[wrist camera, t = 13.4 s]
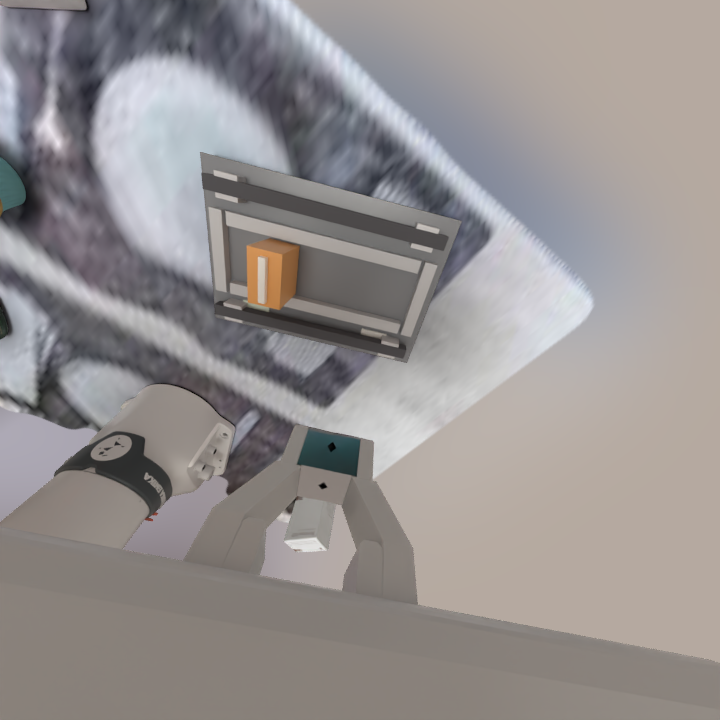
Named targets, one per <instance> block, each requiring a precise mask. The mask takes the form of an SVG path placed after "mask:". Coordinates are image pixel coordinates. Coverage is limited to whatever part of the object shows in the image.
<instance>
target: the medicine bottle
mask: <svg viewBox="0 0 720 720" xmlns="http://www.w3.org/2000/svg"><path fill="white" fill-rule="evenodd" d="M0 5H2V6H5V7H20V8H42V9H65V10H86V8H87V6H86V2H85V0H0Z"/></svg>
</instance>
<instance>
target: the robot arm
mask: <svg viewBox="0 0 720 720" xmlns="http://www.w3.org/2000/svg"><path fill="white" fill-rule="evenodd" d="M234 433H235V427H234V426H233V425H232V424H231V423H230V422H228V421H227V420H225V419H224V418H222V417H221V416H220V415H218V413H217V412H216V411H215V410H214V409H213V408H212V407H211V406H210V405H209V404H208V403H207V402H206V401H204V400H203V399H202V398H200V397H199V396H197V395H195V394H193V393H192V392H190V391H187V390H185V389H182V388H180V387H176V386H172V385H166V384H154V385H150V386H147V387H145V388H143V389H142V390H141V391H140V392H139V393H138V395H137V396H136V397H135V398H132V399H129V400H127V401H125V402H124V403H123V404H122V405H121V411H120V412H119V413H118V414H117V415H116V416H115V417H114V418H113V419H112V420H111V421H110V422H109V423H108V424H106V425H105V426H104V427H103V428H102V429H101V430H100V431H99V432H98V433H97V434H96V435H95V436H94V437H93V438H92V439H91V440H90V442H89V445H87V446H85V447H84V448H82V449H81V450H80V451H79V452H77V453H76V454H75V455H74V456H73V457H72V456H71V457H70V458H69V459H68V460H66V461H65V463H64V464H63V465H62V466H61V467H60V468H59V469H58V470H57V471H56V472H55V474H54V478H53V479H51V480H50V481H49V482H48V483H47V484H46V485H44V486H43V487H42V488H41V489H39V490H38V491H37V492H36V493H35V494H33V495H32V496H31V497H30V498H29V499H27V500H26V501H25V502H24V503H23V504H21V505H20V506H19V507H18V508H16V509H15V510H14V511H13V512H12V513H11V514H9V515H8V516H7V517H6V518H4V519H3V520H2V521H1V522H0V720H720V663H718V662H715V661H712V660H708V659H703V658H697V657H693V656H687V655H682V654H676V653H671V652H666V651H660V650H655V649H650V648H645V647H639V646H634V645H629V644H623V643H618V642H613V641H607V640H602V639H596V638H591V637H586V636H581V635H575V634H570V633H564V632H559V631H554V630H549V629H543V628H538V627H533V626H528V625H522V624H517V623H511V622H506V621H501V620H496V619H490V618H484V617H480V616H474V615H469V614H464V613H458V612H453V611H448V610H442V609H437V608H432V607H426V606H421V605H418V602H417V590H416V579H415V566H414V554H413V547H412V545H411V544H410V542H409V540H408V538H407V536H406V534H405V533H404V531H403V529H402V527H401V526H400V524H399V522H398V520H397V518H396V516H395V515H394V513H393V511H392V509H391V507H390V505H389V504H388V502H387V500H386V498H385V496H384V495H383V493H382V491H381V489H380V487H379V485H378V484H377V482H376V481H372V477H373V452H374V442H373V441H372V440H367V439H363V438H359V437H354V436H349V435H344V434H339V433H333V432H329V431H325V430H321V429H316V428H312V427H308V426H303V425H299V424H296V425H295V427H294V429H293V431H292V434H291V436H290V439H289V441H288V444H287V446H286V449H285V451H284V454H283V456H282V459H281V461H275V462H274V463H272V464H271V465H270V466H268V467H267V468H266V469H264V470H263V471H262V472H260V473H259V474H257V475H256V476H255V477H253V478H252V479H251V480H249V481H248V482H247V483H245V484H244V485H243V486H241V487H240V488H239V489H237V490H236V491H235V492H233V493H232V494H231V495H229V496H228V497H227V498H225V499H224V500H223V501H221V502H220V503H219V504H217V505H216V506H215V507H213V508H212V510H211V512H210V514H209V515H208V517H207V519H206V521H205V523H204V525H203V526H202V528H201V530H200V531H199V533H198V535H197V537H196V538H195V540H194V542H193V544H192V546H191V547H190V549H189V551H188V553H187V555H186V556H185V558H184V560H183V561H182V560H176V559H171V558H166V557H160V556H155V555H150V554H144V553H139V552H134V551H128V550H123V548H124V547H125V545H126V544H127V543H128V541H129V540H130V538H131V537H132V536H133V534H134V533H135V532H136V530H137V529H138V528H139V526H140V525H141V524H142V522H143V521H144V520H148V521H153V519H151V518H148V517H150V516H151V515H157V514H158V513H156V511H157V510H158V509H160V508H161V507H162V506H163V505H164V503H165V502H166V501H167V500H168V499H169V498H170V497H172V496H176V495H181V494H185V493H190V492H193V491H195V490H197V489H198V488H199V487H200V486H201V484H202V483H203V481H204V480H207V481H209V480H210V478H211V477H212V476H217V475H222V474H223V473H224V472H225V470H226V467H227V463H228V458H229V454H230V450H231V446H232V442H233V438H234ZM296 496H299V497H305V498H310V499H316V500H321V501H325V502H330V503H334V504H338V505H342V508H343V511H344V514H345V517H346V520H347V523H348V526H349V529H350V532H351V534H352V538H353V541H354V543H355V546H356V549H357V551H356V552H355V555H354V556H353V558H352V560H351V562H350V564H349V566H348V569H347V570H346V572H345V574H344V581H343V589H342V591H341V590H336V589H331V588H325V587H320V586H315V585H309V584H304V583H298V582H293V581H288V580H282V579H277V578H272V577H267V576H261V575H260V572H261V569H262V566H263V563H264V559H265V540H266V529H267V527H268V526H269V525H270V524H271V523H272V522H273V521H274V520H275V519H276V518H277V517H278V516H279V515H280V514H281V513H282V512H283V511H284V510H285V509H286V508H287V506H288V505H289V504H290V503H291V502H292V501H293V500H294V499H295V498H296Z"/></svg>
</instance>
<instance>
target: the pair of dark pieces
mask: <svg viewBox="0 0 720 720" xmlns="http://www.w3.org/2000/svg"><path fill="white" fill-rule="evenodd" d="M202 183H203V189H205V190H209V191H213V192H217V193H221V194H224V195H228V196H232V197H236V198H240V199H244V200H248V201H251V202H255V203H259V204H263V205H267V206H271V207H275V208H278V209H282V210H286V211H290V212H294V213H298V214H302V215H306V216H309V217H313V218H317V219H321V220H325V221H329V222H333V223H336V224H340V225H344V226H348V227H352V228H356V229H360V230H364V231H367V232H371V233H375V234H379V235H383V236H387V237H391V238H394V239H398V240H402V241H406V242H410V243H414V244H418V245H421V246H425V247H429V248H433V249H437V250H441V251H444V249H445V246H446V244H447V241H448V238H449V237H448V236H446V235H442V234H435V233H432V232H428V231H424V230H420V229H416V228H415V227H412V226H408V225H404V224H400V223H396V222H393V221H389V220H385V219H381V218H377V217H374V216H370V215H366V214H362V213H358V212H354V211H351V210H347V209H343V208H339V207H335V206H331V205H328V204H324V203H320V202H316V201H312V200H309V199H305V198H301V197H297V196H293V195H289V194H286V193H282V192H278V191H274V190H270V189H266V188H263V187H259V186H255V185H251V184H247V183H244V182H237V181H233V180H229V179H225V178H221V177H217V176H214V175H213V174H209V173H202ZM223 303H224V301H219V302H217V303H215V304H214V308H215V314H217V315H221V316H225V317H229V318H234V319H238V320H242V321H246V322H250V323H255V324H259V325H263V326H267V327H271V328H276V329H280V330H284V331H288V332H292V333H297V334H301V335H305V336H309V337H313V338H317V339H322V340H326V341H330V342H334V343H338V344H343V345H347V346H351V347H355V348H359V349H364V350H368V351H372V352H376V353H380V354H385V355H389V356H393V357H397V358H401V359H403V358H404V356H405V353H406V345H403V344H399V347H398V348H397V347H392V346H388V345H384V344H381V339H378V338H374V337H369V336H365V335H361V334H357V333H353V332H349V331H345V330H340V329H336V328H332V327H328V326H324V325H320V324H315V323H311V322H307V321H303V320H299V319H295V318H291V317H286V316H282V315H278V314H274V313H270V312H266V311H261V310H257V309H253V308H249V307H245V308H244V309H243V310H238V309H234V308H230V307H226V306H224V304H223Z"/></svg>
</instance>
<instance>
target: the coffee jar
mask: <svg viewBox="0 0 720 720" xmlns="http://www.w3.org/2000/svg"><path fill="white" fill-rule="evenodd" d="M7 334H8V327H7V323H6V319H5V317H4V314H3V312H2V310H1V307H0V339H2V338H4V337H5V336H6V335H7Z"/></svg>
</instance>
